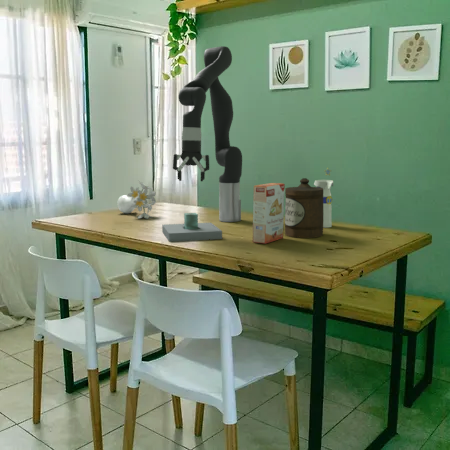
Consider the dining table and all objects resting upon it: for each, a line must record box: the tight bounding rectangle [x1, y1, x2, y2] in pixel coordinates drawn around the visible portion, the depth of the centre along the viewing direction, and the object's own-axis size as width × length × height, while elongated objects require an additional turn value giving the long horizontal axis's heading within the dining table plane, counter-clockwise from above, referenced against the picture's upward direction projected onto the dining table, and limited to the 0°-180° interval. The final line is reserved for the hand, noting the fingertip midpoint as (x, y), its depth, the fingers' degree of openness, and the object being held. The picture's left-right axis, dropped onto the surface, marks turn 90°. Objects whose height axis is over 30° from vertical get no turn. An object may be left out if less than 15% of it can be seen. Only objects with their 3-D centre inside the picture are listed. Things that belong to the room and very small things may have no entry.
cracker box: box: [252, 182, 286, 245], centre depth 204 cm, size 14×6×21 cm, turn 147°
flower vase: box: [116, 180, 157, 219], centre depth 266 cm, size 13×18×25 cm
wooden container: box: [284, 177, 324, 239], centre depth 215 cm, size 15×15×22 cm
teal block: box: [183, 212, 199, 229], centre depth 215 cm, size 4×4×8 cm
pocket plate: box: [161, 222, 223, 242], centre depth 215 cm, size 20×20×3 cm
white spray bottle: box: [313, 167, 334, 229], centre depth 234 cm, size 8×9×25 cm
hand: (190, 181), depth 219 cm, fingers open, 8 cm apart
